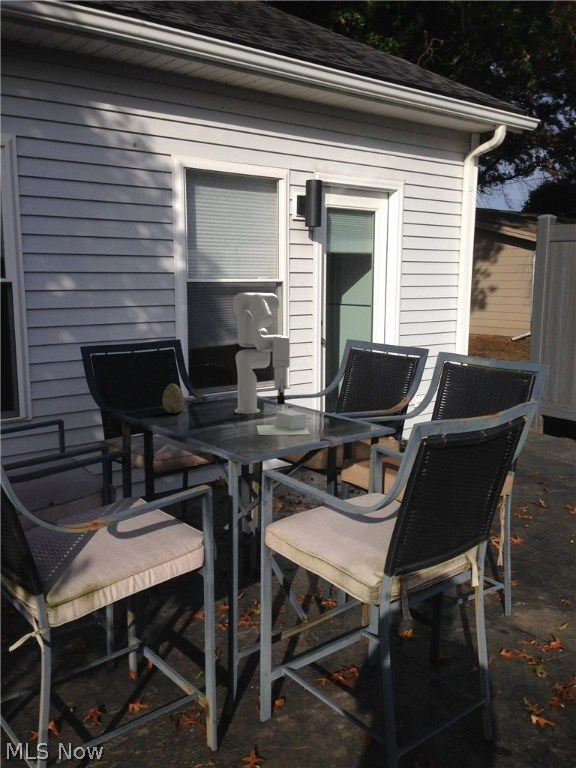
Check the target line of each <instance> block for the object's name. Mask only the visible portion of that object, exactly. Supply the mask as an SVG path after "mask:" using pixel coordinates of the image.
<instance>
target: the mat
mask: <svg viewBox="0 0 576 768" xmlns="http://www.w3.org/2000/svg"><path fill="white" fill-rule="evenodd" d="M256 431H257V434H259V435H271V436H310V435H311V433H310V431H309V430H308V428H307V427H306V428H301V429H292V430H291V429H288V428H285V427H281V426H278V425H276V424H275V425H274V424H272V425H271V424H269V425H267V424H265V425H256ZM309 434H310V435H309ZM259 435H258V436H259Z"/></svg>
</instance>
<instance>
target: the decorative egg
mask: <svg viewBox="0 0 576 768" xmlns="http://www.w3.org/2000/svg"><path fill="white" fill-rule="evenodd" d="M161 400H162V401H161V402H162V405H163V408H164V410H165V411H166V412H167V413H170V414H172V413H175V414H177V412H178V413H179V412H181V411H182V409H183V408H184V404H185V396H184V393H183V391H182V389H181V387H179V386H178V385H177V384H176V383H169V384H168V385H167V386H166V388H165V390H164V391H163V394H162V399H161Z"/></svg>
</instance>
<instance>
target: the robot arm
mask: <svg viewBox="0 0 576 768" xmlns="http://www.w3.org/2000/svg"><path fill="white" fill-rule="evenodd" d="M232 303H233V310H234V314H235V316H236V321H237V323H236V324H237V342H238V345H239V346H240V347H244V348H254V347H255V348H256V349H242V350H239V351H238V352H237V353H236V354H235V363H236V370H237V408H236V409H234V412H235V414H240V413H241V414H242V415H251V414H254V415H255V414H258V413H260V412H261V410H260V409H259V408H257V407H258V394H257V393H258V391H257V390H258V389H257V387H258V383H257V382H258V379H257V376H256V373H255V372H254V370H253V369H266V368H268V367H269V365H270V363H271V352H272V367H273V368H274V381H273V383H274V387H273V388H274V389H275V390H277V396H276V397H277V399H276V401H277V402H276V403H277V405H285V404H286V401H285V399H286V398H285V390H286V389H287V382H288V380H287V379H288V368H290V338H289V336H287V335H282V334H269V332H268V330H267V329H266V327H268V326H270V325H271V324H272V323H273V321H274V318H275V317H274V315H273V312H276V311H278V309H279V307H280V300H279V298H278V296H277V295H276V294H275V293H268V292H240V293H237V294H236V295H235V296H234V298H233V302H232ZM250 311H251V312H250ZM241 414H240V415H241Z"/></svg>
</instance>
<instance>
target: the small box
mask: <svg viewBox="0 0 576 768" xmlns="http://www.w3.org/2000/svg"><path fill="white" fill-rule="evenodd" d="M275 425H278V426H281V427H285V428H288V429H291V430H292V429H301V428H307V414H305V413H303V412H298V411H295V410H291V409H290V410H278V411H275Z"/></svg>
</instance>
